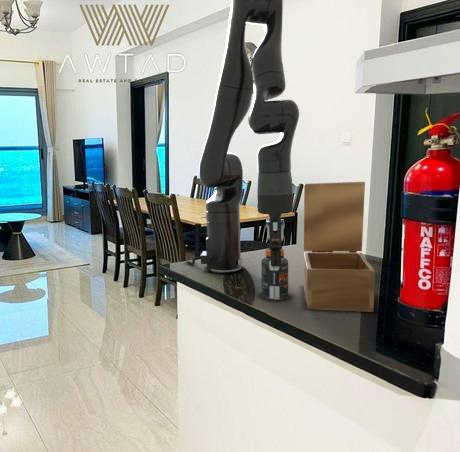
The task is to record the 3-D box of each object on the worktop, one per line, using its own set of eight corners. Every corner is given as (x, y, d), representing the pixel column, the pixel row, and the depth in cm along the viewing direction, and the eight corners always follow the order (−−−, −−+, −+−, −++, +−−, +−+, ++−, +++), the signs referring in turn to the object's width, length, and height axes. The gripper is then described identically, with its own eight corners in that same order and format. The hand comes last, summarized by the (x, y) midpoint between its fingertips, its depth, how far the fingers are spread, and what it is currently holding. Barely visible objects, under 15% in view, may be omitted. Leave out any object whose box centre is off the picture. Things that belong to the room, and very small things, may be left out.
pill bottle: (283, 301, 103) (282, 253, 101) (257, 298, 107) (257, 250, 105) (291, 294, 108) (291, 247, 106) (267, 290, 111) (266, 245, 110)
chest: (373, 312, 94) (374, 270, 92) (307, 309, 98) (307, 269, 96) (360, 288, 108) (361, 252, 107) (303, 287, 112) (303, 252, 111)
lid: (365, 182, 102) (360, 176, 107) (304, 184, 106) (303, 179, 111) (361, 251, 107) (357, 242, 112) (303, 250, 111) (302, 242, 116)
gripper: (293, 194, 95) (294, 270, 98) (291, 187, 109) (291, 254, 111) (256, 195, 98) (257, 269, 100) (258, 189, 111) (259, 254, 114)
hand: (275, 261), depth 106 cm, fingers open, 8 cm apart
